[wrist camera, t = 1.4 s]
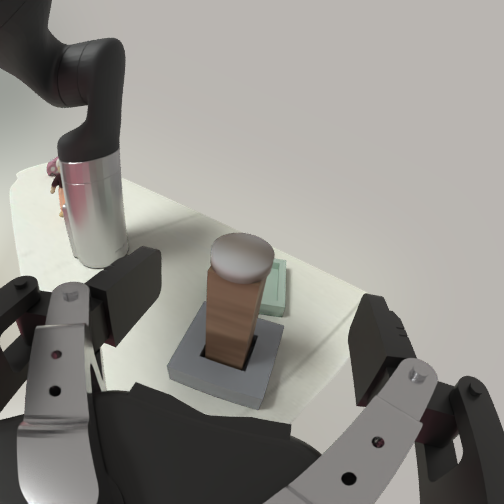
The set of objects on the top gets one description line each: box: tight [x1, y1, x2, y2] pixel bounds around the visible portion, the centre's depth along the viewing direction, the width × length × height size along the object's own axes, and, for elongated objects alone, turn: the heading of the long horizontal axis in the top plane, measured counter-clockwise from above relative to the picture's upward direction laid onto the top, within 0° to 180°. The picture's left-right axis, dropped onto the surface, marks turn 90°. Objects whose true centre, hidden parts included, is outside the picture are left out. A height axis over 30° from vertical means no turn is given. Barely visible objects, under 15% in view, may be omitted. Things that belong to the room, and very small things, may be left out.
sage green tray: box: [259, 258, 286, 317], centre depth 41 cm, size 10×10×2 cm
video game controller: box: [47, 157, 60, 175], centre depth 65 cm, size 10×5×7 cm, turn 133°
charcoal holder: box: [167, 301, 284, 410], centre depth 30 cm, size 10×10×3 cm
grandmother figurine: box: [50, 158, 65, 217], centre depth 47 cm, size 8×4×13 cm, turn 128°
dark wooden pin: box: [205, 233, 275, 371], centre depth 26 cm, size 5×5×15 cm
